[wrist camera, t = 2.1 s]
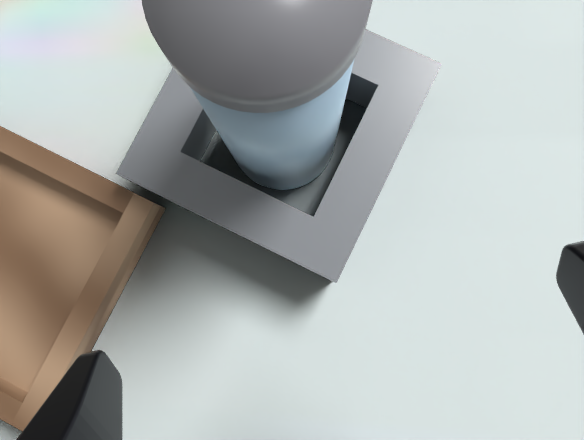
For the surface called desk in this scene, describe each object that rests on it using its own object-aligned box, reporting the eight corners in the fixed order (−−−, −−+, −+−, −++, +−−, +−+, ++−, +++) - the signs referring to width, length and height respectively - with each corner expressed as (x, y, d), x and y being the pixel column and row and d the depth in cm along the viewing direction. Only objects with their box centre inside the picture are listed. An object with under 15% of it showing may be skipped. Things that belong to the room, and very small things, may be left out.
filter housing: (332, 281, 22) (336, 282, 19) (140, 186, 23) (115, 173, 20) (424, 90, 23) (442, 63, 20) (236, 4, 24) (227, -34, 21)
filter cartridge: (307, 210, 23) (310, 134, 10) (210, 163, 23) (99, 34, 11) (355, 114, 23) (412, -71, 11) (258, 69, 24) (207, -159, 11)
